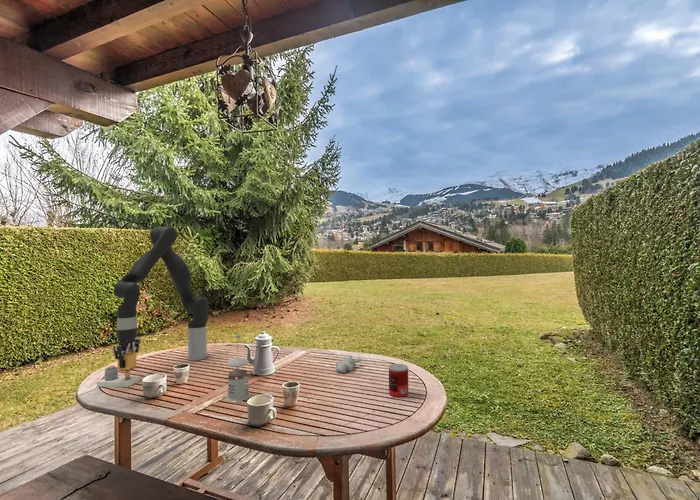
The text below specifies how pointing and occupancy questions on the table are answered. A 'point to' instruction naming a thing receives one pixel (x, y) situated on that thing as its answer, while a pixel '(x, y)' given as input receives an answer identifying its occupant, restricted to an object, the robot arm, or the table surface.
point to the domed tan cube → (129, 361)
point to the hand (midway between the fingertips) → (127, 365)
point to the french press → (238, 380)
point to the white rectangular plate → (118, 382)
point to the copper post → (127, 374)
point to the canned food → (398, 380)
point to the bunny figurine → (346, 364)
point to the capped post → (111, 373)
